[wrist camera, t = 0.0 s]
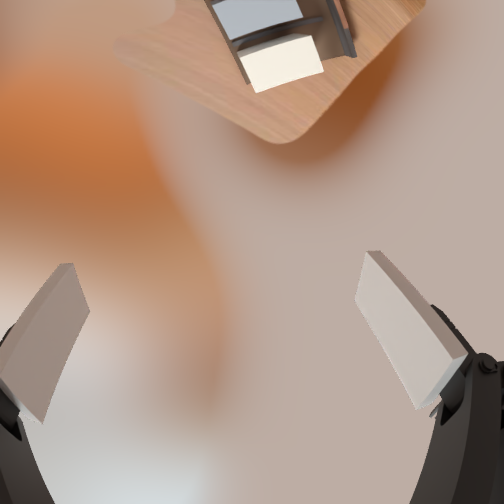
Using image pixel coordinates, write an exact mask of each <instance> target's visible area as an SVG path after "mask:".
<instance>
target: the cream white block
mask: <svg viewBox="0 0 504 504" xmlns="http://www.w3.org/2000/svg"><path fill="white" fill-rule="evenodd" d="M237 54H238V56H239V58H240V60H241V62H242V64H243V67H244V69H245V71H246V73H247V75H248V77H249V79H250V82H251V84H252V86H253V88H254V90H255V92H256V93H258V92H261V91H264V90H266V89H269V88H272V87H275V86H278V85H281V84H284V83H287V82H290V81H293V80H296V79H300V78H303V77H306V76H310V75H313V74H317V73H321V72H324V70H323V67H322V64H321V61H320V58H319V55H318V53H317V50H316V47H315V44H314V42H313V39H312V36H311V35H303V34H295V33H293V34H290V35H286V36H283V37H279V38H276V39H273V40H269V41H266V42H263V43H260V44H257V45H254V46H252V47H249V48H246V49H243V50H241V51H238V52H237Z"/></svg>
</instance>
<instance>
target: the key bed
mask: <svg viewBox="0 0 504 504" xmlns="http://www.w3.org/2000/svg"><path fill="white" fill-rule="evenodd" d="M204 1H205V3H206V5H207V7H208V8H209V10H210V12H211V14H212V16H213V18H214V20H215V21H216V23H217V25H218V27H219V29H220V31H221V33H222V35H223V37H224V39H225V41H226V43H227V45H228V47H229V49H230V51H231V53H232V55H233V57H234V59H235V61H236V63H237V65H238V67H239V69H240V71H241V73H242V75H243V77H244V80H245V82H246V84H250V83H251V82H250V79H249V77H248V75H247V73H246V71H245V69H244V67H243V64H242V62H241V60H240V58H239V56H238V54H237V52H238V51H241V50H243V49H246V48H249V47H252V46H254V45H257V44H260V43H263V42H266V41H269V40H273V39H276V38H279V37H283V36H286V35H290V34H293V33H295V34H303V35H311V36H312V39H313V42H314V44H315V47H316V50H317V53H318V55H319V58H320V61H323V60H327V59H331V58H335V57H339V56H344V55H346V56H349V57H352V58H355V57H357V54H356V51H355V47H354V44H353V41H352V38H351V34H350V31H349V26H348V23H347V20H346V18H345V15H344V12H343V9H342V7H341V4H340V1H339V0H296V2H297V4H298V6H299V9H300V11H301V13H302V16H303V17H302V18H298V19H294V20H290V21H286V22H283V23H279V24H276V25H272V26H269V27H266V28H263V29H259V30H256V31H253V32H250V33H248V34H245V35H242V36H239V37H237V38H234V39H231V40H230V39H229V37H228V35H227V33H226V31H225V29H224V28H223V26H222V24H221V22H220V20H219V18H218V16H217V14H216V12H215V11H214V8H213V6H212V5H215V4H217V3H220V2H222V1H225V0H204Z"/></svg>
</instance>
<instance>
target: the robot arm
mask: <svg viewBox="0 0 504 504" xmlns="http://www.w3.org/2000/svg"><path fill="white" fill-rule="evenodd" d="M354 301H355V303H356V304H357V305H358V307H359V309H360V311H361V312H362V314H363V316H364V317H365V319H366V320H367V322H368V324H369V326H370V327H371V329H372V331H373V332H374V334H375V336H376V337H377V339H378V341H379V343H380V344H381V346H382V348H383V350H384V351H385V353H386V355H387V357H388V358H389V360H390V362H391V364H392V366H393V367H394V369H395V371H396V373H397V375H398V377H399V378H400V380H401V382H402V384H403V386H404V388H405V390H406V392H407V393H408V395H409V397H410V399H411V401H412V403H413V405H414V407H415V409H416V410H418V409H420V408H422V407H425V406H427V405H430V404H431V403H432V402H433V401H434V400H435V399H436V398H437V396H438V395H439V394H440V396H441V398H442V401H441V402H440V403H439V404H438V405H437V406H436V407H435V409H434V410H433V411H432V412H431V414H430V416H429V417H432V416H433V415H434V414H435V413H436V412H437V416H436V417H435V419H436V421H435V426H434V430H433V434H432V438H431V442H430V445H429V449H428V453H427V456H426V459H425V463H424V466H423V469H422V472H421V475H420V478H419V480H418V483H417V486H416V488H415V491H414V494H413V496H412V499H411V501H410V504H504V361H500V362H497V361H496V360H495V359H494V358H493V357H492V356H490V355H488V354H486V353H479V354H477V353H476V352H475V351H474V350H473V349H472V347H471V346H470V345H469V343H468V342H467V341H466V339H465V338H464V337H463V336H462V334H461V333H460V332H459V331H458V329H455V326H454V324H453V323H452V322H450V320H449V319H448V317H447V316H446V315H445V314H444V313H443V311H441V310H440V309H438V308H437V307H436V306H434V305H429V304H428V302H427V301H426V300H425V299H424V298H423V296H422V295H421V294H420V293H419V292H418V291H417V290H416V288H415V287H414V286H413V285H412V284H411V283H410V282H409V281H408V280H407V279H406V277H405V276H404V275H403V274H402V273H401V272H400V271H399V270H398V269H397V268H396V267H395V266H394V265H393V264H392V262H390V260H389V259H388V258H387V257H385V255H384V254H383V253H382V252H381V251H366V254H365V258H364V263H363V268H362V272H361V276H360V280H359V284H358V288H357V293H356V296H355V300H354ZM89 312H90V310H89V307H88V305H87V302H86V300H85V297H84V294H83V291H82V288H81V286H80V283H79V280H78V277H77V274H76V271H75V268H74V264H73V263H68V264H67V263H66V264H60V265H59V266H58V267H57V269H56V270H55V271H54V272H53V273H52V275H51V276H50V277H49V278H48V280H47V281H46V282H45V283H44V285H43V286H42V287H41V289H40V290H39V291H38V292H37V294H36V295H35V297H34V298H33V299H32V300H31V302H30V303H29V305H28V306H27V307H26V309H25V310H24V312H23V313H22V315H21V316H20V317H19V319H18V320H17V322H16V323H15V324H14V325H13V326H12V327H11V328H9V329H8V331H7V332H6V334H5V335H4V337H3V340H1V342H0V504H55V503H54V501H53V499H52V497H51V495H50V493H49V491H48V489H47V487H46V485H45V483H44V480H43V478H42V476H41V473H40V471H39V469H38V466H37V464H36V461H35V459H34V456H33V453H32V450H31V448H30V445H29V442H28V439H27V436H26V432H25V429H24V426H23V422H22V421H21V419H20V417H19V416H18V415H19V412H20V411H21V412H22V413H23V414H24V415H25V416H26V417H27V418H28V419H29V420H32V421H35V422H38V423H41V424H43V421H44V418H45V415H46V412H47V409H48V407H49V404H50V401H51V398H52V395H53V393H54V390H55V387H56V385H57V382H58V379H59V377H60V375H61V373H62V370H63V367H64V366H65V363H66V361H67V359H68V356H69V354H70V352H71V350H72V348H73V345H74V343H75V341H76V338H77V337H78V335H79V333H80V331H81V328H82V326H83V324H84V322H85V320H86V318H87V317H88V314H89Z"/></svg>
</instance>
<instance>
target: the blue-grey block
mask: <svg viewBox="0 0 504 504" xmlns="http://www.w3.org/2000/svg"><path fill="white" fill-rule="evenodd" d="M212 6H213V8H214V11H215V12H216V14H217V16H218V18H219V20H220V22H221V24H222V26H223V28H224V29H225V31H226V33H227V35H228V37H229V39H230V40H231V39H234V38H237V37H239V36H242V35H245V34H248V33H250V32H253V31H256V30H259V29H263V28H266V27H269V26H272V25H276V24H279V23H283V22H286V21H290V20H294V19H298V18H302V17H303V16H302V13H301V11H300V9H299V6H298V4H297V2H296V0H225V1H222V2H220V3H217V4H215V5H212Z"/></svg>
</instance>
